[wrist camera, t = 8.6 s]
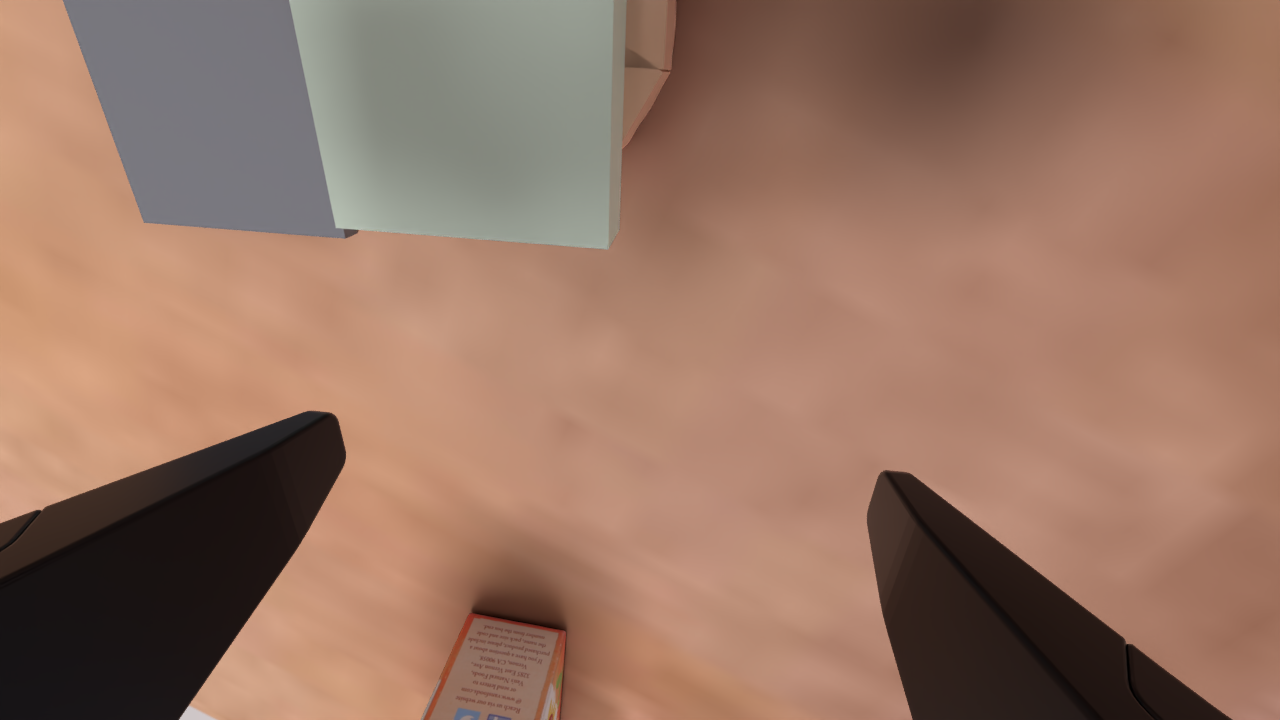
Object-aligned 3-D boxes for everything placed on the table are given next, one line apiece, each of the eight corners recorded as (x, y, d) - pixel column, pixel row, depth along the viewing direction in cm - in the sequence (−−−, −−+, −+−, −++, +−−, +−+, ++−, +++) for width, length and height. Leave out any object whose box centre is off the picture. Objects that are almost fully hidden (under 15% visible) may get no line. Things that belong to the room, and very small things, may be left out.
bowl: (689, -176, 15) (683, -258, 11) (665, 181, 19) (655, 208, 15) (359, -182, 16) (250, -261, 12) (407, 164, 20) (338, 185, 16)
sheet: (636, -303, 11) (621, -374, 9) (619, 229, 16) (608, 249, 14) (288, -304, 11) (212, -372, 10) (376, 211, 16) (335, 228, 15)
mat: (281, -167, 16) (261, -178, 15) (357, 233, 21) (345, 238, 21) (26, -173, 16) (-5, -184, 16) (162, 217, 22) (143, 222, 21)
